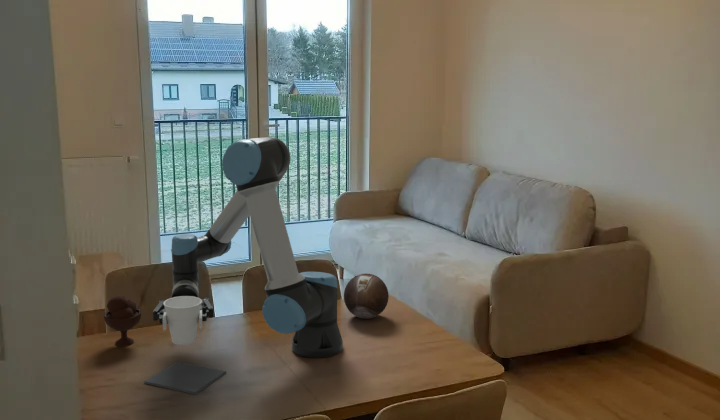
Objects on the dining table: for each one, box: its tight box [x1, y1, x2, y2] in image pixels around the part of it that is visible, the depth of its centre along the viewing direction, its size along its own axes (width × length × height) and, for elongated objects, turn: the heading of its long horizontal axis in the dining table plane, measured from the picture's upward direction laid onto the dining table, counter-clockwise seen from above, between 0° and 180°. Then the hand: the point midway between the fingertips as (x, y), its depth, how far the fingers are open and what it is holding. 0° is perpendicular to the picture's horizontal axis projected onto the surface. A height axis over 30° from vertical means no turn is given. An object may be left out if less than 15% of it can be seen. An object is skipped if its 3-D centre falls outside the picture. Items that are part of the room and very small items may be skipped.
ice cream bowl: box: [103, 295, 142, 347], centre depth 208 cm, size 11×11×15 cm
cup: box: [163, 296, 203, 346], centre depth 183 cm, size 10×10×11 cm
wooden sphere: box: [343, 273, 390, 320], centre depth 233 cm, size 15×15×15 cm
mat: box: [144, 361, 227, 395], centre depth 186 cm, size 16×14×1 cm
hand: (182, 324), depth 178 cm, fingers closed on cup, 8 cm apart
